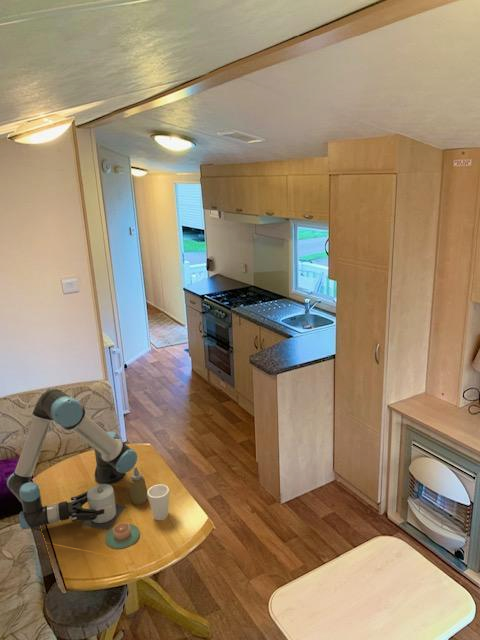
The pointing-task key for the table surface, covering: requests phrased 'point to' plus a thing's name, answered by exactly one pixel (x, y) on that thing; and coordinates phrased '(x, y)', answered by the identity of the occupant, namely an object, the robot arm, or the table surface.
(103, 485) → the lidded canister
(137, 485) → the squeeze bottle
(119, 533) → the green and pink dish
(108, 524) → the mat
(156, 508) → the foam cup
